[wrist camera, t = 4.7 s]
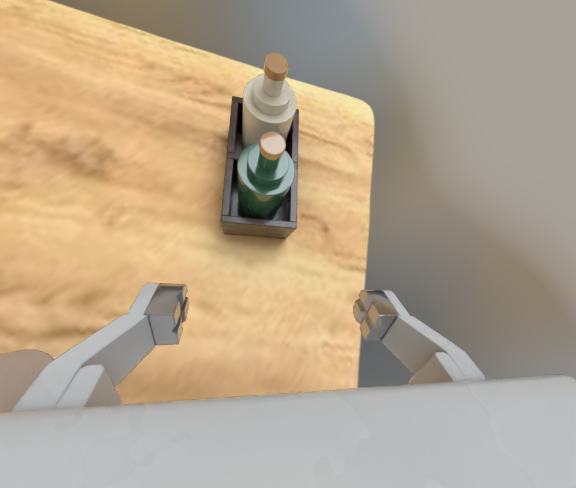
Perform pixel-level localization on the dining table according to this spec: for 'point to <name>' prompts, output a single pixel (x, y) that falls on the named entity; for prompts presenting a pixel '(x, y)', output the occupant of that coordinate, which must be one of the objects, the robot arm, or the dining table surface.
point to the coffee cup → (19, 375)
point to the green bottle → (264, 177)
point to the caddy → (230, 214)
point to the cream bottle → (268, 102)
